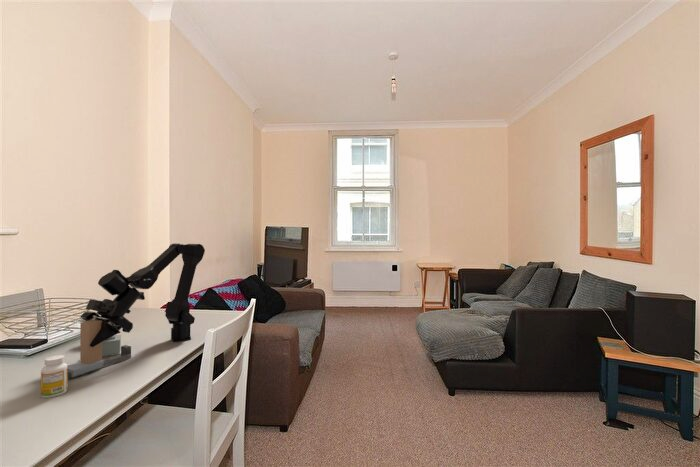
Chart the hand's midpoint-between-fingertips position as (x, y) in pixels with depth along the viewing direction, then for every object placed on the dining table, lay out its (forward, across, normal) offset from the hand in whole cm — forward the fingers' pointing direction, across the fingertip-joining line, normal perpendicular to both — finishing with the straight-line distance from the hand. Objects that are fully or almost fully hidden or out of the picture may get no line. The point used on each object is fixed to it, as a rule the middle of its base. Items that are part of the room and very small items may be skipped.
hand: (86, 345), depth 105 cm
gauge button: (-5, -11, +13) cm, 18 cm away
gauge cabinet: (-4, -11, +15) cm, 19 cm away
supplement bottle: (+15, +8, -3) cm, 17 cm away
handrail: (+4, 0, +7) cm, 8 cm away
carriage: (+6, 0, +5) cm, 7 cm away
